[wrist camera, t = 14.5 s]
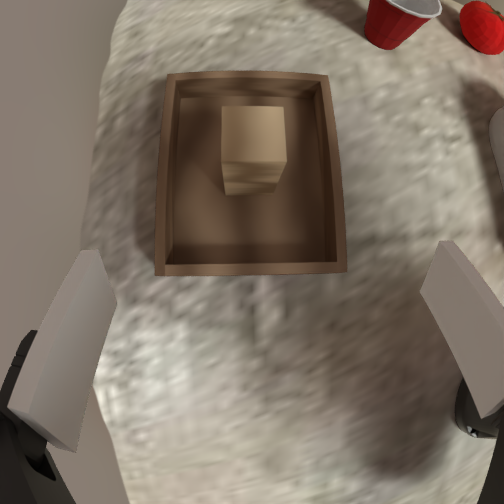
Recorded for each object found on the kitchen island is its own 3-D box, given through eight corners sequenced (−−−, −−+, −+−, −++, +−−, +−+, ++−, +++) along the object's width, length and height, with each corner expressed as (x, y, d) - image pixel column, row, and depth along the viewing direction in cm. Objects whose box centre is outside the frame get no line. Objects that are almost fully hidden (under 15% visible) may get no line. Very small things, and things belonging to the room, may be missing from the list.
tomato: (482, 68, 39) (513, 40, 28) (441, 24, 39) (467, -8, 28) (498, 55, 40) (526, 31, 29) (463, 16, 40) (486, -11, 29)
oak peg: (270, 152, 34) (283, 106, 24) (272, 195, 33) (286, 161, 23) (225, 152, 34) (222, 106, 24) (225, 195, 33) (221, 161, 23)
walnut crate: (318, 97, 36) (327, 75, 31) (332, 273, 34) (347, 272, 29) (174, 96, 35) (167, 74, 30) (166, 276, 33) (154, 275, 28)
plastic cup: (334, 20, 37) (354, -34, 26) (382, 13, 38) (406, -32, 26) (375, 68, 37) (409, 16, 25) (421, 58, 38) (455, 15, 26)
